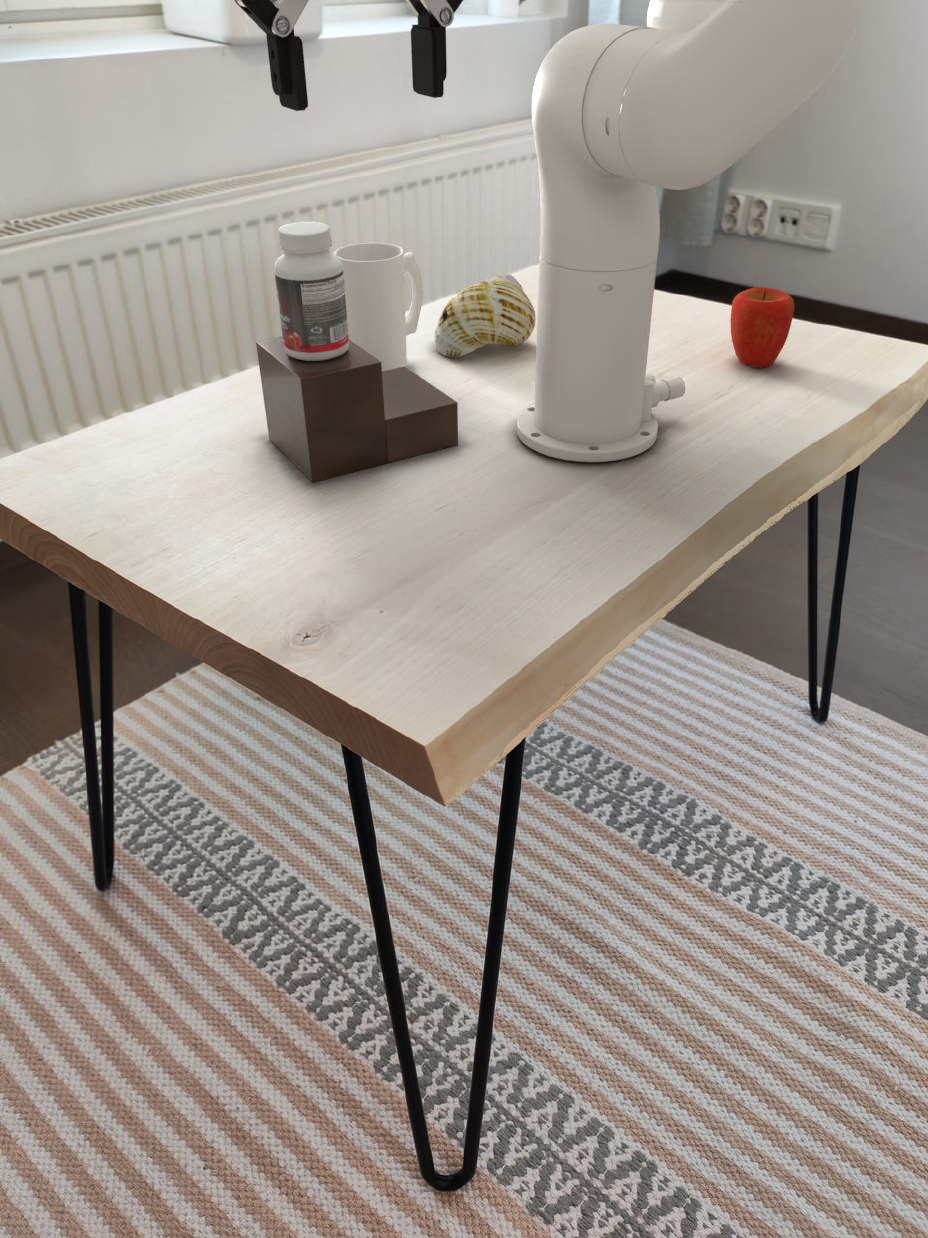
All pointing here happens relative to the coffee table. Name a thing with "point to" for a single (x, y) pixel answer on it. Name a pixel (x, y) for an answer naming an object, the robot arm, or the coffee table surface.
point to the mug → (380, 299)
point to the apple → (760, 325)
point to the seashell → (485, 317)
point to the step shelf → (350, 411)
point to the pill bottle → (311, 293)
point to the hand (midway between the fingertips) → (363, 101)
